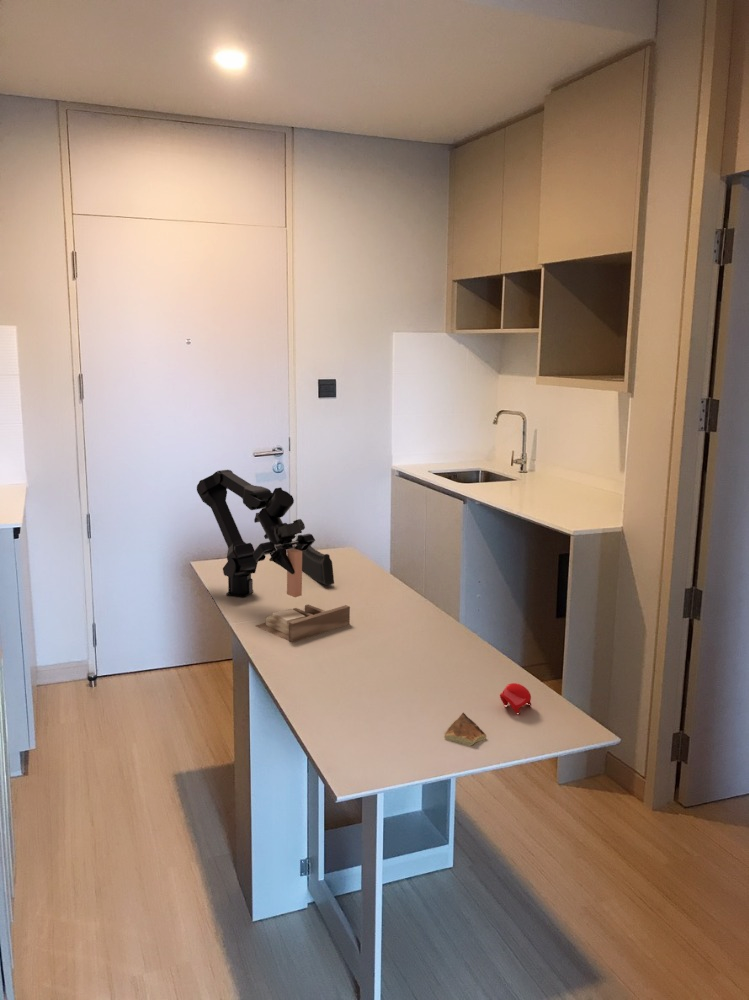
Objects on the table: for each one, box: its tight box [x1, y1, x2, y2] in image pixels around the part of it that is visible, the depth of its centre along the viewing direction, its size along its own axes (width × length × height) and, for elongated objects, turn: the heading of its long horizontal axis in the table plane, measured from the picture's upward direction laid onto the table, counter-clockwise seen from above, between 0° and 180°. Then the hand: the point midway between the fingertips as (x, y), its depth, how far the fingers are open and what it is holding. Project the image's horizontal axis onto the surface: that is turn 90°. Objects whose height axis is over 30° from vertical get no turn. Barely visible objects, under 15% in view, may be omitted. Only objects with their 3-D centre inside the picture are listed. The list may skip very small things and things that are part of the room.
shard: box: [444, 712, 487, 747], centre depth 163 cm, size 11×8×2 cm
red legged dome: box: [499, 682, 532, 714], centre depth 172 cm, size 8×6×6 cm
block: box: [286, 549, 303, 598], centre depth 224 cm, size 4×2×13 cm
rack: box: [255, 604, 351, 643], centre depth 217 cm, size 16×20×6 cm
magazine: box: [296, 534, 335, 586], centre depth 264 cm, size 17×3×30 cm
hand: (297, 572), depth 223 cm, fingers closed on block, 2 cm apart
